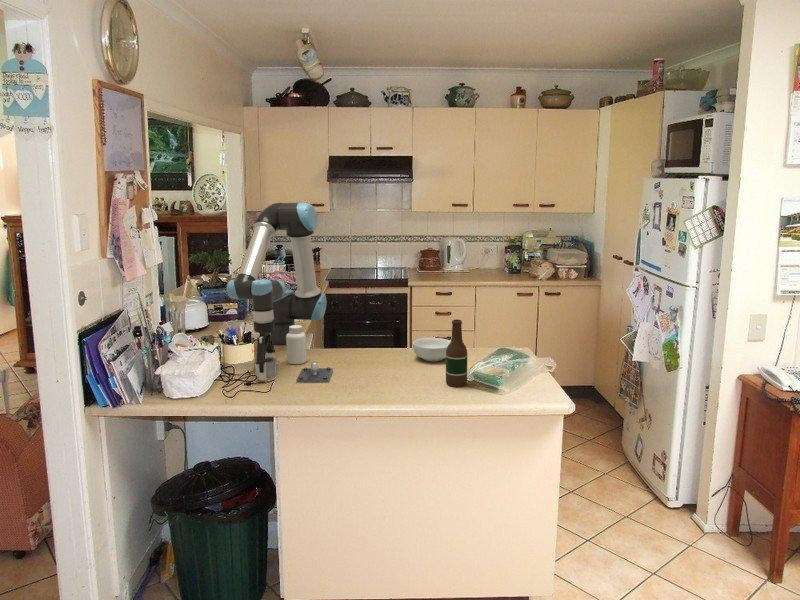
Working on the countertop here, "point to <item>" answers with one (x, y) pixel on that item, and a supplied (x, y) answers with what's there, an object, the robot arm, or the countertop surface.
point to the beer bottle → (456, 358)
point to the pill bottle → (296, 345)
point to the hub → (268, 367)
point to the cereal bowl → (431, 348)
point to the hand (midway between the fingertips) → (266, 374)
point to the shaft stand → (314, 374)
